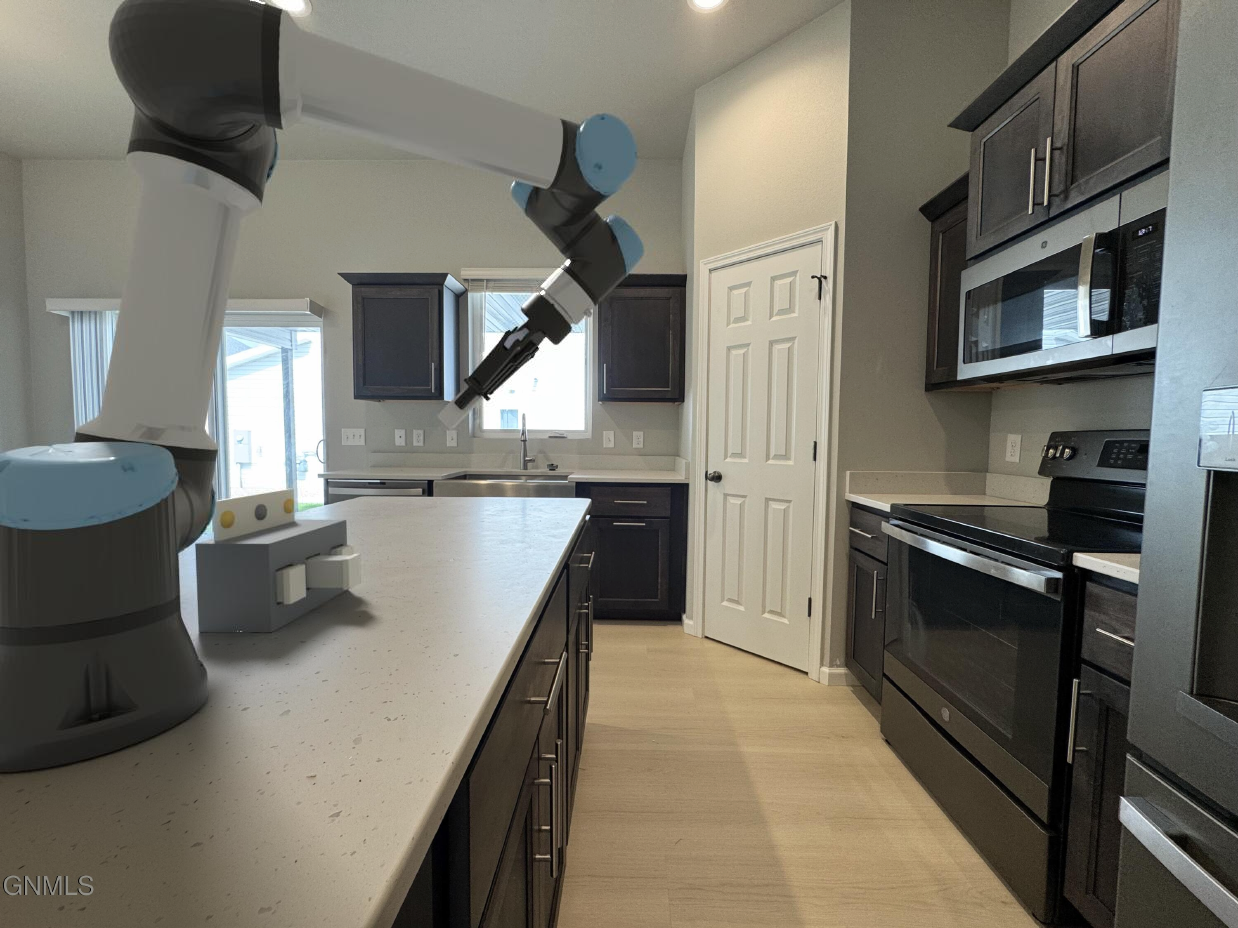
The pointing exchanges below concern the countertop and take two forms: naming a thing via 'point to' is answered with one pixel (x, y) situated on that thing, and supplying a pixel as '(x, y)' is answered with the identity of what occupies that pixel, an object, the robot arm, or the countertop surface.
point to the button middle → (333, 571)
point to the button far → (343, 550)
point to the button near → (290, 583)
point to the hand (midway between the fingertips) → (444, 422)
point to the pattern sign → (252, 513)
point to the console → (260, 575)
